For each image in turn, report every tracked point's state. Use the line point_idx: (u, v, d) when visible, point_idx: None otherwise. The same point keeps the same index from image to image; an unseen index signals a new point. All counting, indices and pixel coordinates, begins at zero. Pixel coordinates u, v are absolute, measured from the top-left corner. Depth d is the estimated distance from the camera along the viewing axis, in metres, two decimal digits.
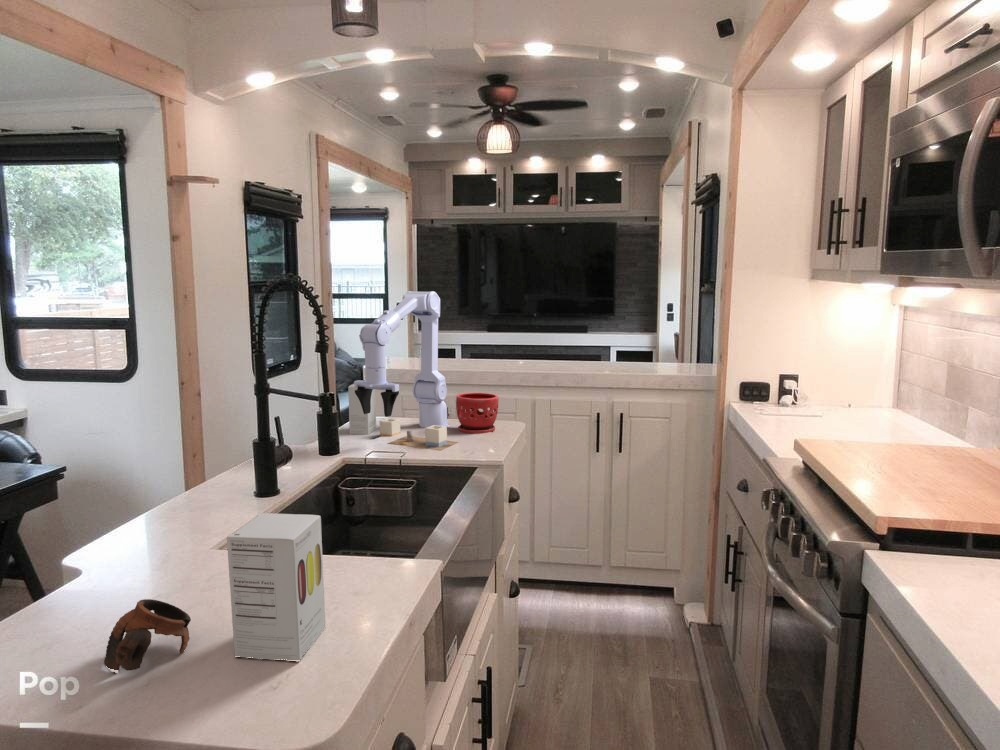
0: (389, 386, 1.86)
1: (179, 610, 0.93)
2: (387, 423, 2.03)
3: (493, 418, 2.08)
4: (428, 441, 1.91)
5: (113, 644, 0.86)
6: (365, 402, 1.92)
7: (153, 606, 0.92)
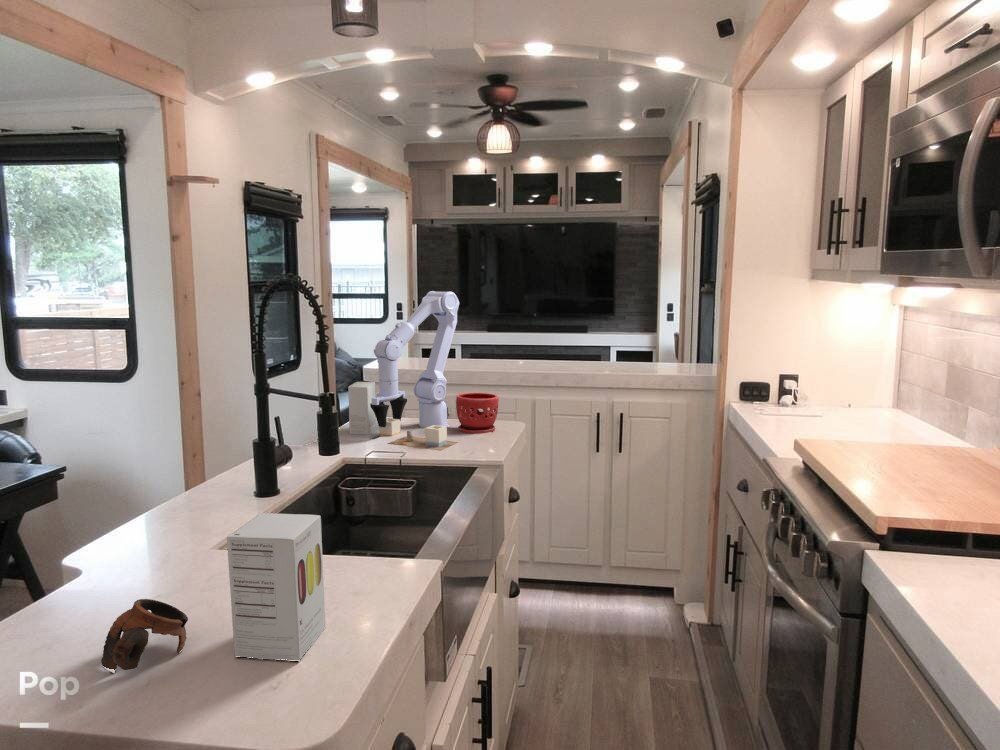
0: None
1: (176, 610, 0.93)
2: (387, 423, 2.03)
3: (493, 418, 2.08)
4: (428, 441, 1.91)
5: (111, 644, 0.86)
6: (395, 411, 2.08)
7: (150, 605, 0.92)
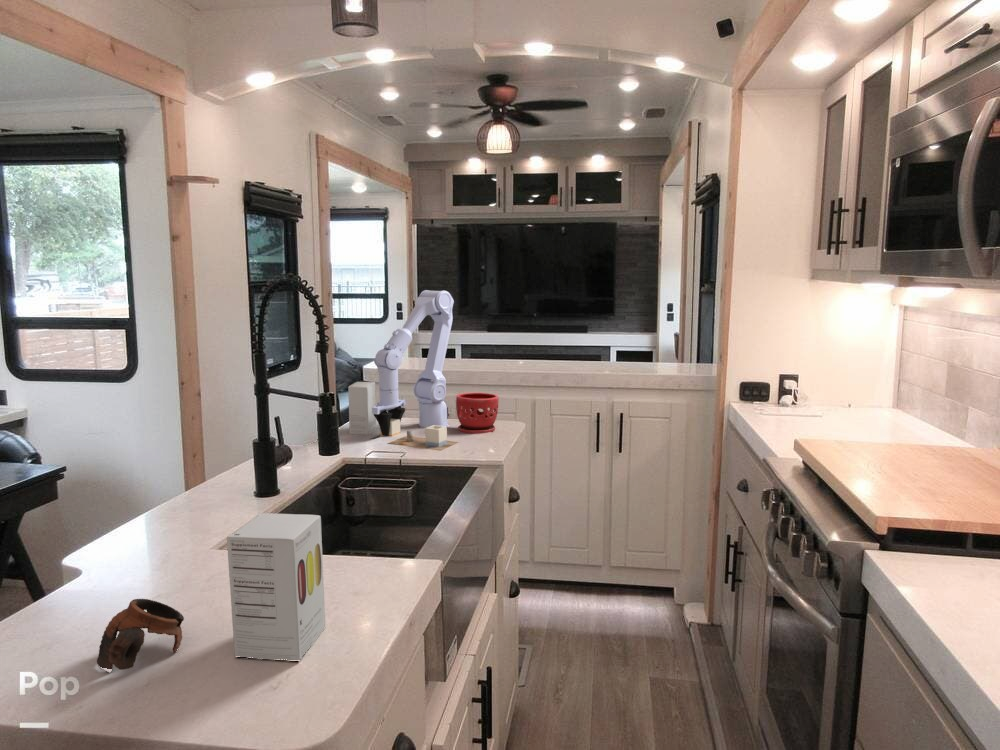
0: None
1: (172, 609, 0.93)
2: None
3: (493, 418, 2.08)
4: (428, 441, 1.91)
5: (106, 643, 0.86)
6: None
7: (145, 605, 0.92)
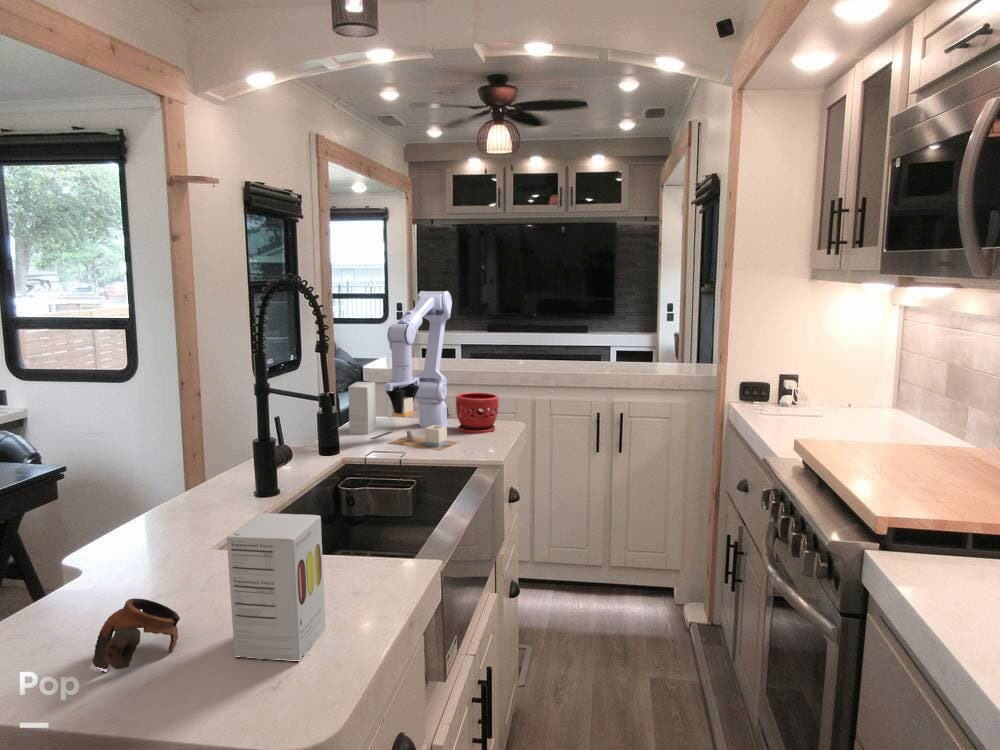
0: None
1: (168, 609, 0.93)
2: None
3: (493, 418, 2.08)
4: (428, 441, 1.91)
5: (102, 643, 0.86)
6: None
7: (141, 605, 0.93)
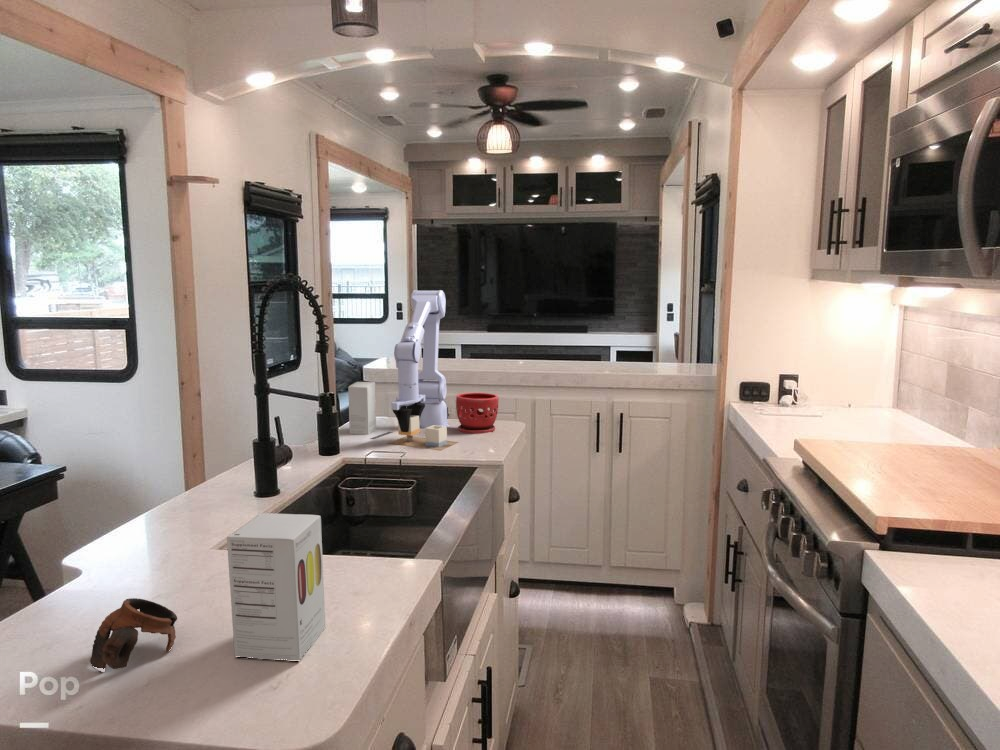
0: None
1: (165, 609, 0.94)
2: None
3: (493, 418, 2.08)
4: (428, 441, 1.91)
5: (100, 643, 0.86)
6: None
7: (139, 605, 0.93)
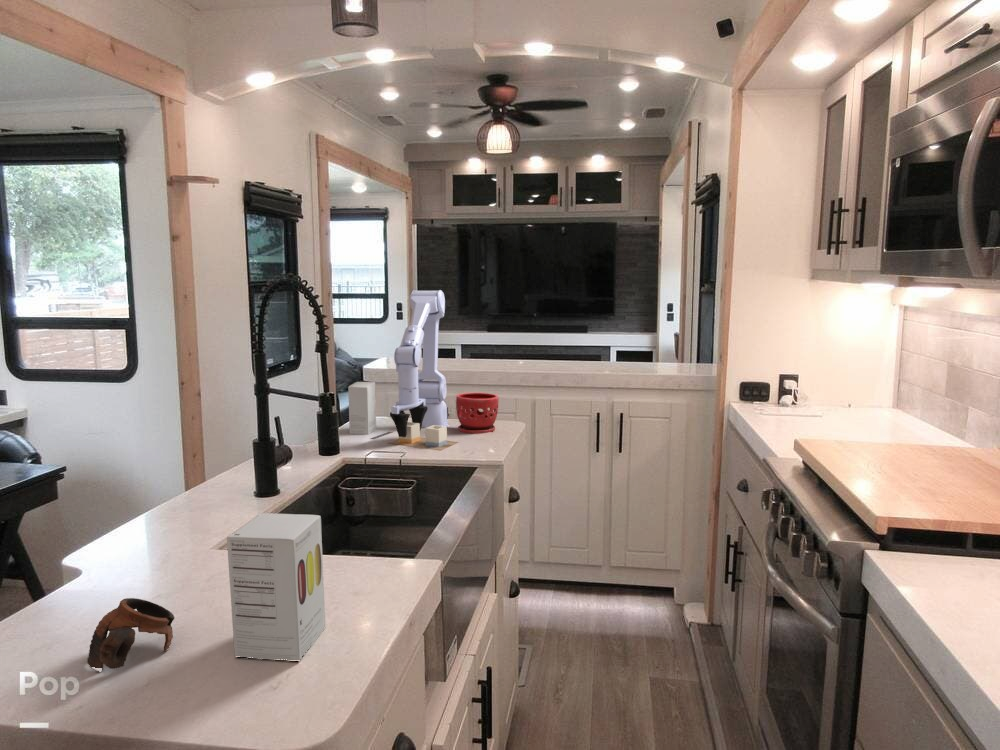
0: None
1: (162, 608, 0.94)
2: None
3: (493, 418, 2.08)
4: (428, 441, 1.91)
5: (97, 643, 0.86)
6: (415, 420, 1.99)
7: (136, 604, 0.93)
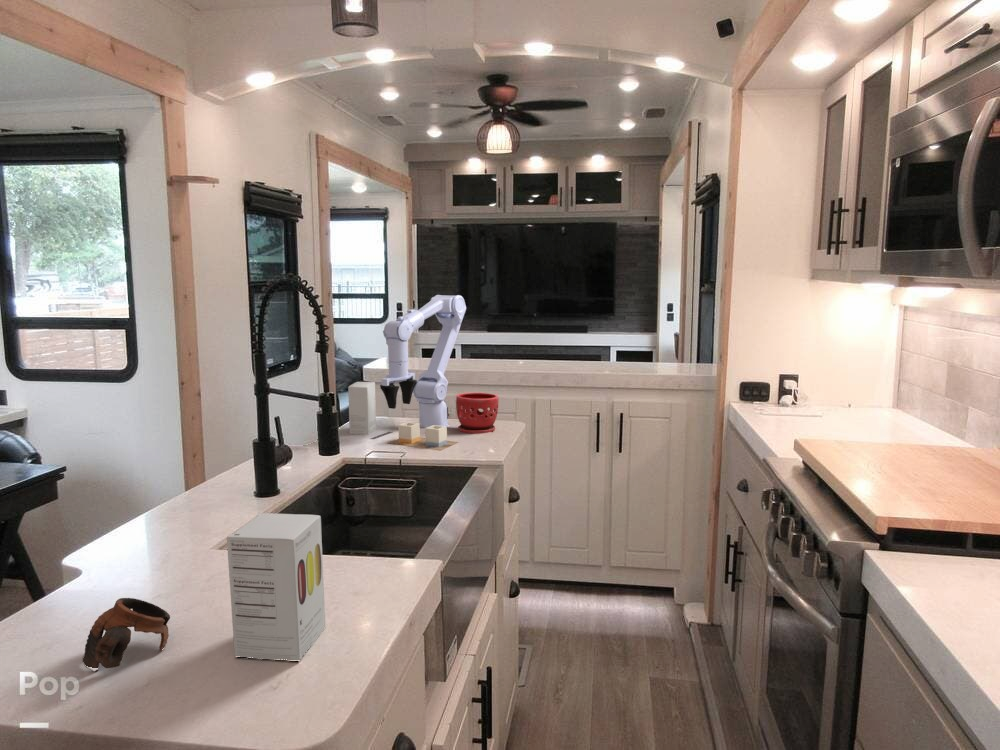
0: None
1: (158, 608, 0.94)
2: (406, 427, 1.94)
3: (493, 418, 2.08)
4: (428, 441, 1.91)
5: (92, 642, 0.87)
6: (405, 393, 2.07)
7: (131, 604, 0.93)
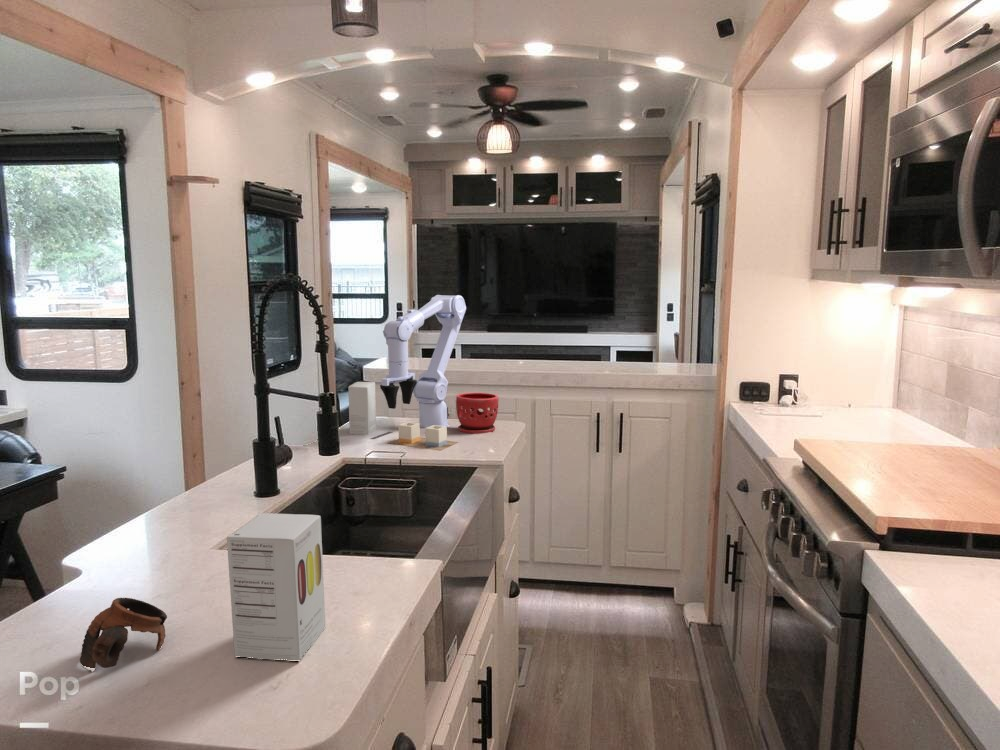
0: None
1: (155, 608, 0.94)
2: (406, 427, 1.94)
3: (493, 418, 2.08)
4: (428, 441, 1.91)
5: (89, 642, 0.87)
6: (405, 393, 2.07)
7: (128, 604, 0.93)
